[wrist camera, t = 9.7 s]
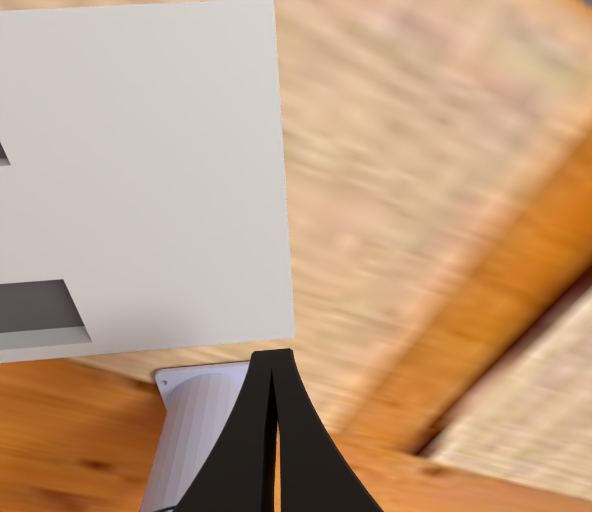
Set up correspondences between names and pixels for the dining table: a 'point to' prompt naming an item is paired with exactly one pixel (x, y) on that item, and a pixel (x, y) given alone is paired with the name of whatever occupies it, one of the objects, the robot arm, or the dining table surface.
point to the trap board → (141, 179)
